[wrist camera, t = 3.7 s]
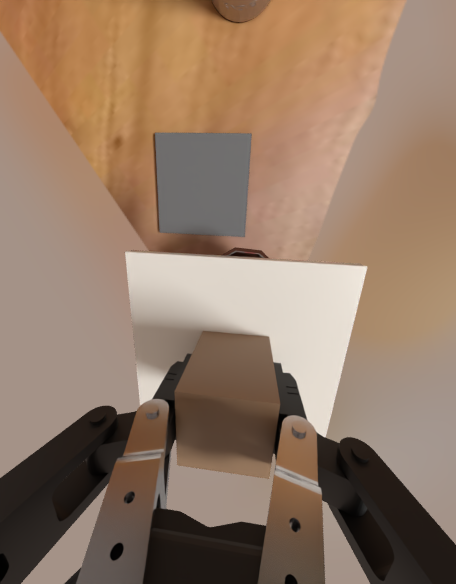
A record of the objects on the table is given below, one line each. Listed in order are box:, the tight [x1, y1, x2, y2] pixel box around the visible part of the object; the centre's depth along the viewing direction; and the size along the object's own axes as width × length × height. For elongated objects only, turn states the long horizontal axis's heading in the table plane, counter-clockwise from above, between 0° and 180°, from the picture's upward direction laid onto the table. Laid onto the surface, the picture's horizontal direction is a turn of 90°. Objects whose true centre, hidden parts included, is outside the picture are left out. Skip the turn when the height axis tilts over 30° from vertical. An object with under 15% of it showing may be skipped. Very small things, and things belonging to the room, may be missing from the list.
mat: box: [155, 133, 251, 237], centre depth 35 cm, size 15×15×1 cm
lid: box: [125, 250, 367, 479], centre depth 11 cm, size 13×13×6 cm
